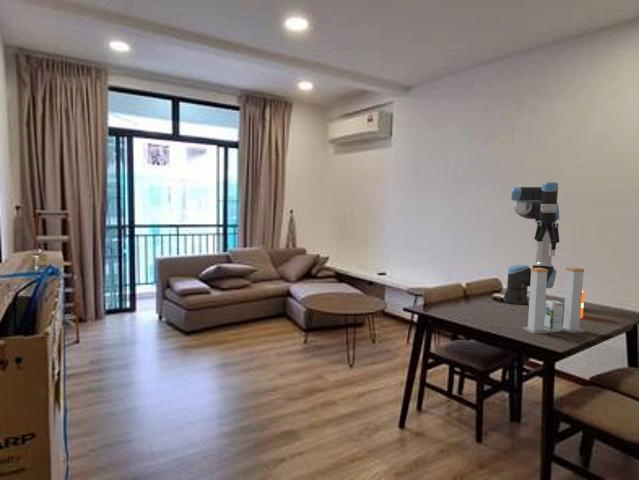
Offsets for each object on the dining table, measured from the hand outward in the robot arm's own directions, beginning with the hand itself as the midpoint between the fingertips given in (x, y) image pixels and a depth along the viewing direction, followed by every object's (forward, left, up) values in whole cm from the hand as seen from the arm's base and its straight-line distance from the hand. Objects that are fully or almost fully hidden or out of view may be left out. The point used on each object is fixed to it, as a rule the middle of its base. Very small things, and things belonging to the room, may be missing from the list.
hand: (545, 254), depth 222 cm
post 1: (+7, -21, -36) cm, 42 cm away
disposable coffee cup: (-8, +9, -36) cm, 38 cm away
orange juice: (+6, +25, -36) cm, 44 cm away
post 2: (+17, -5, -36) cm, 40 cm away
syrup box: (+11, -13, -36) cm, 40 cm away
